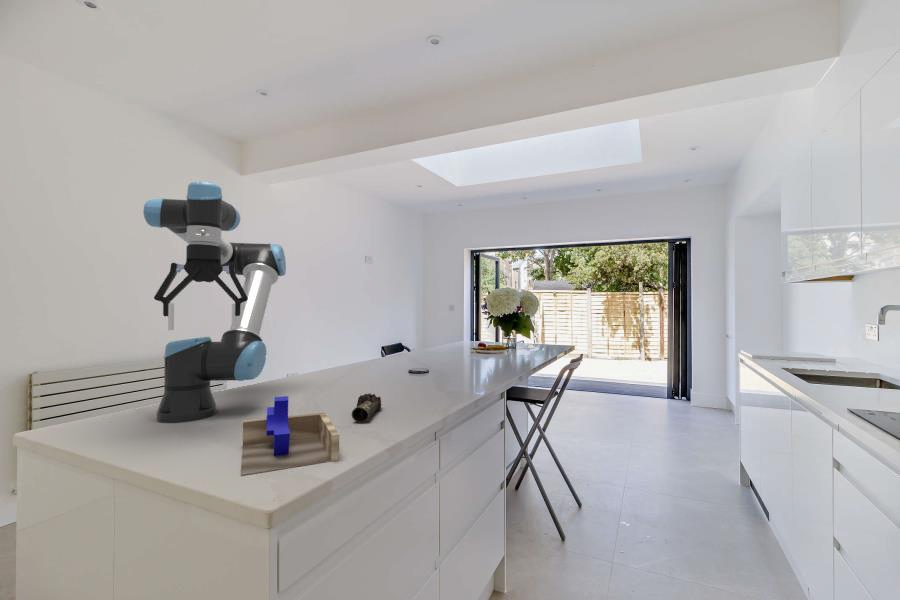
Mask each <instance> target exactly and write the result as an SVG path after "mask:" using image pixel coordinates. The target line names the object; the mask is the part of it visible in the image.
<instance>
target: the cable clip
mask: <svg viewBox="0 0 900 600" xmlns="http://www.w3.org/2000/svg"><path fill="white" fill-rule="evenodd" d="M273 399H274V400H273V401H274V402H273V403H274V404H273V406H270V407H269V406H268V407H266V418H267V436H270V435H274V456H275V455H284V454H289V439H290V428H289V429H288V416H289V395H285V396H284V395H283V396H274V398H273Z"/></svg>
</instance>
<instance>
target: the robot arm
mask: <svg viewBox="0 0 900 600" xmlns="http://www.w3.org/2000/svg"><path fill="white" fill-rule="evenodd" d="M222 198H223V193H222V187H221V186H220V185H218V184H216V183H212V182H206V181H192V182H190V183H189V184H187V194H186V199H173V198H172V199H171V198H150V199H147V201H146V202H145V203H144V205H143V218H144V220H145V221H146V223H147V224H148V225H149V226H150V227H155V228H161V229H162V228H167V229H168V230H169V231H171V232H172V233H173V234H175V235H176V236H177V237H179V238H180V239H181V240H183V241H184V242H185V243H186V244H187V245H186V249H185V251H186V253H185V254H186V255H185V256H186V259H185V263H184V264H180V263H176V262H171V264H170V269H169V272H168V274H167V275H166V277H165V279H164V280H163V282H162V284H161V285H160V287H159V289H158V290H157V291H156V293H155V295H154V296H153V298H154V300H155V301H158V302H161V303H162V305H163V306H162V311H163V312H162V315H163V317H167V324H168V325H167V331H173V330H174V327H175V326H174V325H175V323H174V322H175V320H174V319H175V303H174V302H173V303H171V302H172V301H173V300H174V299H175V298H176V297H177V296H178V295H179V294H180V293H181V292H182V291H183V290H184V289H185V288H186V287H188V285H189V284H191V283H192V282H193V281H194V282H196V283H203V282H204V283H205V282H206V283H213V282H216V283H217V284H218V286H220V288H221V289H223V291H224V292H225V293H226V295H228V296H229V298H231V299H232V301H233V302H234V303H231V325H230V329H229V330H226V331H224V333H223V334H222V336H221V339H220V341H212V338H211V337H210V336H203V337H202V336H201V337H196V338H188V339H180V340H174V341H170V342H168V343H167V344H166V345H165V348H164V349H165V350H164V356H163V360H164V379H163V380H164V382H163V383H164V392H163V395H162V398H161V400H160V403H159V406H158V408H157V410H156V421H157V422H160V423H164V422H165V423H168V424H176V423H187V422H189V421H190V422H195V420H196V421H201V420H204V418H205V419H208V418H210V417H213V416H215V415H216V414H217V404H216V401H215V398H214V396H213V392H212V390H211V382H212V381H218V382H219V381H220V382H221V381H238V382H242V381H243V382H244V381H248V380H249V381H250V380H252V381H253V380H255V379H256V378H258V377H259V376H260V375H261V373H262V372H263V370H264V367H265V365H266V361H267V357H266V356H267V347H266V344H265V342H263V338H262V337H261V336H260V334H261V329H262V326H263V321H264V318H265V314H266V309H267V306H268V305H267V304H268V301H269V298H270V293H271V289H272V285H274V284H276V283H277V281H278V279H279V277H283V276H285V275H286V273H287V266H286V265H287V263H286V256H285V251H284V248H283V247H282V245H280V244H278V243H271V242H269V243H251V242H248V243H246V242H229V241H228V240H226V239H225V238H222V231H224V232H232V231H233V230H236V228H238V226H239V225H240V223H241V215H240V213H239V211H238V210H237V208H236V207H234V205H232V204H231V203H228V202H227V201H225V200H223V199H222ZM182 270H184V271H185V272H186V273H187V275H186V276H185V277H184V278H183V280H182V281H181V282H180V283H178V284H177V285H176V286H175V287H174V288H173V289H172V291H170V292H169V293H168V294H167V295H166V293H167V291H168V289H169V288H170V286H171V284H172V282H173V281H174V280H175V278H176V276H177V274H179V273H180V272H182ZM223 271H224V272H225V273H226V274H227V275H229V277H230V278H231V280H232V282H233V284H234V286H235V287H236V289H237V291H238V293H239V297H238V296H237V295H236V294H235V293H234V292H233V291H232V289H231V288H230V287H229V286H228V285H227V284H226V283H225V282H224V281H223V280H222V278H220V275H221V273H222V272H223ZM237 276H243V277H244V278H245V280H244V282H243V286H242V284H241V283H240V280H239V278H238V277H237ZM165 295H166V296H165ZM200 419H201V420H200ZM165 423H164V424H165Z"/></svg>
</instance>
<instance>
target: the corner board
mask: <svg viewBox="0 0 900 600" xmlns="http://www.w3.org/2000/svg"><path fill="white" fill-rule="evenodd" d="M289 428H290V439H289V454H284V455H275V456H274V435H270V436H267V417H266V418H260V419H258V418H257V419H256V418H255V419H248V420H242V452H241V465H240V466H241V468H240V477H245V476H250V475H252V476H253V475H259V474H264V473H270V472H275V471H277V472H278V471H281V470H283V471H284V470H288V469H289V470H290V469H294V468H295V469H296V468H299V467H307V466H314V465H320V464H326V463H333V462H336V461H337V462H338V461H340V433H339V431H338V430H337V429H336V427H335V426H334V424H333V423H332V421H331V420H330V419H329V416H328V415H327V414H326V412H318V413H309V414H298V415H288V429H289Z"/></svg>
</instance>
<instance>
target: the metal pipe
mask: <svg viewBox="0 0 900 600" xmlns="http://www.w3.org/2000/svg"><path fill="white" fill-rule="evenodd" d="M380 409H382V399H381V396H376V394H375V393H373V394H371V392H370V393H364V394H361V395H360V396H358V399H357V403H356V407H354V408H353V410H352V411H351V418H352V419H353V420H354V421H355V422H356V423H360V424H364V423H366V422H367V421H368V420H369V418H371V416H372V415H373V414H374V413H375V412H380Z"/></svg>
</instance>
